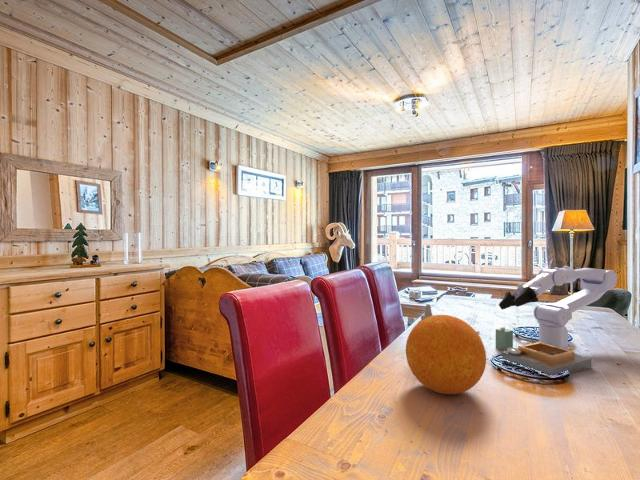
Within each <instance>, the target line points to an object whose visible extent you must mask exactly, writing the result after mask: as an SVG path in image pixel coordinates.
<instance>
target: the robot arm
mask: <svg viewBox="0 0 640 480" xmlns="http://www.w3.org/2000/svg"><path fill="white" fill-rule="evenodd" d="M577 279H580V289H581V290H579V291H577V292H575V293H574V294H570V295H569V296H567V297H565V298H562V299H561V300H558V301H557V302H547V303H544V304H543V303H538V304H537V305H536V306H535V307H534V309H533V316H534V319H535V320H536V322H537V323H538V342H545V343H548V344H550V345H552V346H555V347H559V348H563V349H566V350H571V347H569V331H568V329H567V327H566V325H567V324H568V322H569V321H570V320H572V319H573V313H575V312H576V311H579V310H580V309H582V308H584V307H587V306H588V305H590V304H592V303H594V302H597V301H598V300H600V299H601V297H602V296H603V295H604V294H605V293H607V291H609V290H612V289H613V288H615V286H616V284H617V281H618V276H617V273H616V271H614V270H613V269H601V268H592V267H591V268H590V267H582V268H576V269H574V268H572V267H570V266H569V265H564V266H563V265H562V267H557V266H555V267H553V268H552V269H551V268H544V269H543V268H541V269H540V270H539V271H538V274H537V275H536V276H535V277H534V278H532V279H531V280H529V281H527V282H526V283H524V284H522V283H518V284H517V285H516V287H517V288H516V289H515V291H514V292H513V293H511V292H510V291H507V292H506V293H505V294H504V297H503V298H502V300H501V301H500V302H499V303H498V306H499V308H500V309H501V310H505V309H508V308H510V307H518V308H519V307H521V306H525V305H527V304H530V303H537V302H538V301H539V298H538V297H539V296H541V295H543V294H544V293H546V291H548V290H551V288H552V287H554V286H559V287H561V286H563V285H564V284H570V283H571V284H572V283H574V282H576V280H577Z"/></svg>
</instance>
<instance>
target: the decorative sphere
mask: <svg viewBox="0 0 640 480" xmlns="http://www.w3.org/2000/svg"><path fill="white" fill-rule="evenodd" d="M433 315H434V316H430V317H427V318H425V319H423V320H422V321H420V320H419V321H420V322H419V321H418V322H419V323H418V322H417V323H416V324H415V325H414V327H413V328H412V329H411V331H410V332H409V334H408V337H407V339H406V344H405V356H406V357H405V358H406V363H407V365H408V367H409V370H410V371H411V373H412V374H413V376H414V377H415V379H417V381H418V382H419V383H420V384H422V385H423V386H424V387H426V388H427V389H428V390H430V391H433V392H436V393H438V394H442V395H457V394H462V393H464V392H467V391H469V390H471V389H472V388H473V387H475V386H476V385H477V383H479V381H480V380H481V378H482V377H483V374H484V372H485V369H486V366H487V365H486V364H487V354H486V353H487V352H486V349H485V345H484V343H483V341H482V340H483V339H482V337H481V336H480V334H479V335H478V334H477V332H476V331H475V330H474V329H475V328H473V327H472V325H470V324H469V323H467V322H466V321H465V320H463V319H461V318H459V317H457V316H453V315H448V314H433ZM479 336H480V337H479Z"/></svg>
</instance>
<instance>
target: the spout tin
mask: <svg viewBox="0 0 640 480" xmlns="http://www.w3.org/2000/svg"><path fill="white" fill-rule="evenodd" d="M507 348H514V331H513V330H512V329H510V328H509V329H508V328H506V327H504V326H501V327H500V328H496V329H495V349H498V350H500V351H502V352H504V351H507Z"/></svg>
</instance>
